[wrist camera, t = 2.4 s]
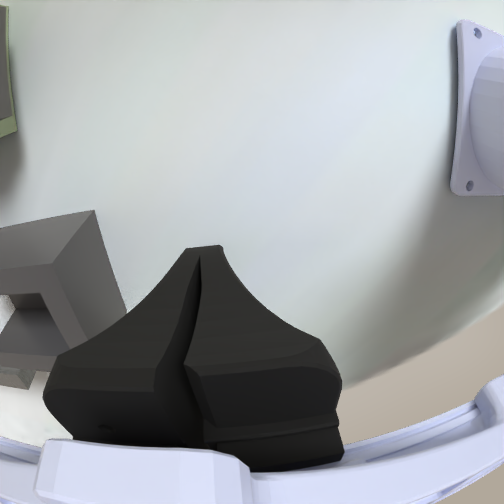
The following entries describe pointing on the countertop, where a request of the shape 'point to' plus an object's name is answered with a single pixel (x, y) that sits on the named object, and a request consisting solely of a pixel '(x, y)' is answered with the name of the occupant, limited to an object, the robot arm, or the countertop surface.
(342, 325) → the countertop surface
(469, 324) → the countertop surface
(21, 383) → the chute mount
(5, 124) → the pale green flat plate
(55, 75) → the countertop surface
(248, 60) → the countertop surface
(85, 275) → the chute
